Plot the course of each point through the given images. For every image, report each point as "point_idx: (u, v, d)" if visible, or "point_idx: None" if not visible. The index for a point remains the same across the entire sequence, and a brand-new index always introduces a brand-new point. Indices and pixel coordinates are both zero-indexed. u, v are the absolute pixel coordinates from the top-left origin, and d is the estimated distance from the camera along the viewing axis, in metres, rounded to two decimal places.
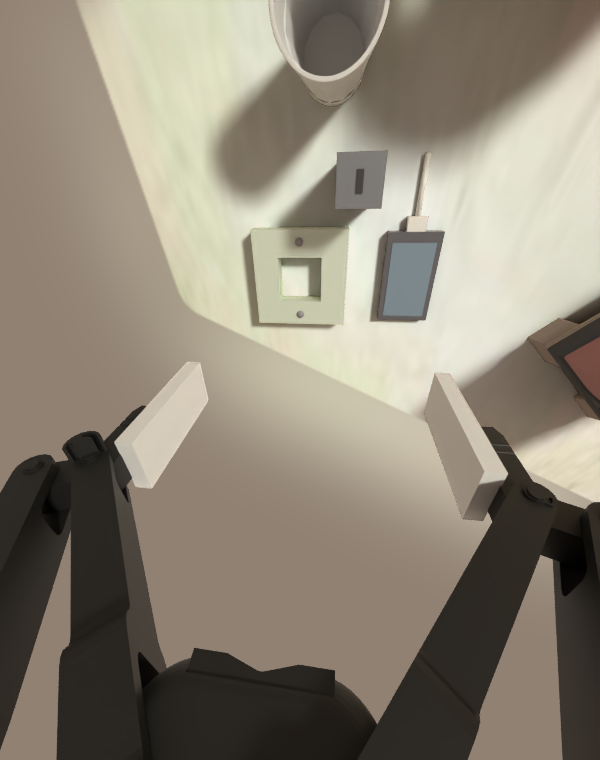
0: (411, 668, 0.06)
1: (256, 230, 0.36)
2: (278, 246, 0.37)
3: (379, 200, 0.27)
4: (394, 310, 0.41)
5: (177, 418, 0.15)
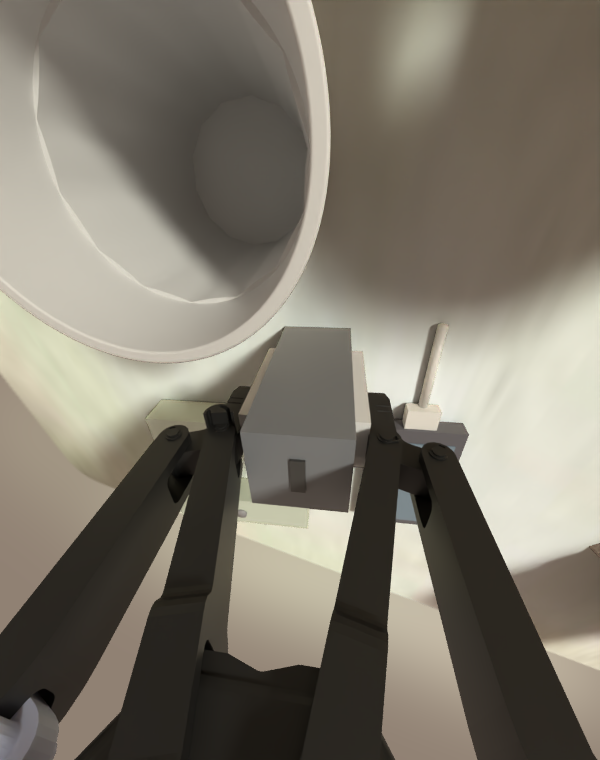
0: (330, 627, 0.06)
1: (155, 419, 0.22)
2: None
3: (343, 503, 0.12)
4: None
5: None
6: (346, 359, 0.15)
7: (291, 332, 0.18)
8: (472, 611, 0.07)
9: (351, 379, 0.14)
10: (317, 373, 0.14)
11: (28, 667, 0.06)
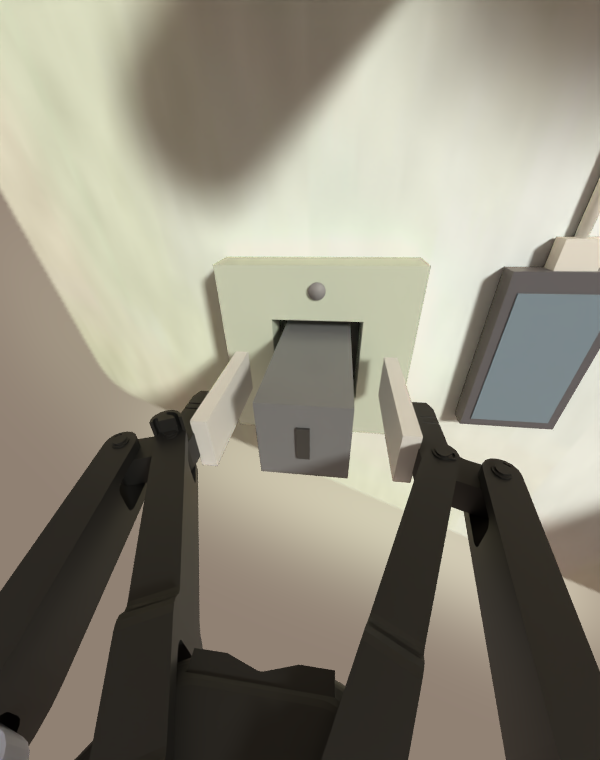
0: (363, 637, 0.06)
1: (226, 266, 0.17)
2: (272, 298, 0.18)
3: (343, 469, 0.14)
4: (495, 411, 0.21)
5: (233, 403, 0.16)
6: (346, 344, 0.17)
7: (295, 321, 0.20)
8: (525, 640, 0.06)
9: (350, 360, 0.15)
10: (320, 356, 0.16)
11: None
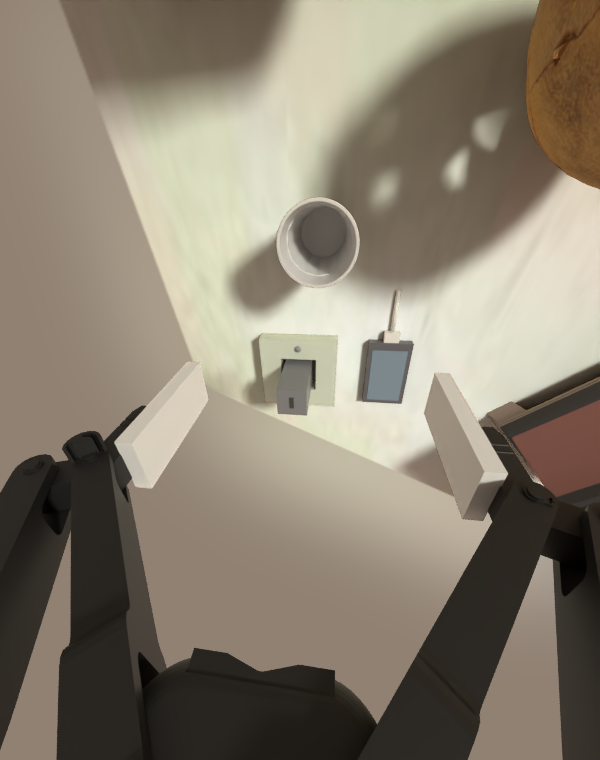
0: (411, 668, 0.06)
1: (263, 339, 0.45)
2: (280, 351, 0.46)
3: (305, 411, 0.42)
4: (376, 395, 0.49)
5: (177, 418, 0.15)
6: (308, 369, 0.45)
7: None
8: None
9: (308, 375, 0.43)
10: (298, 374, 0.44)
11: None
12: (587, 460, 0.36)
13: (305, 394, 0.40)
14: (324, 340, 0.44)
